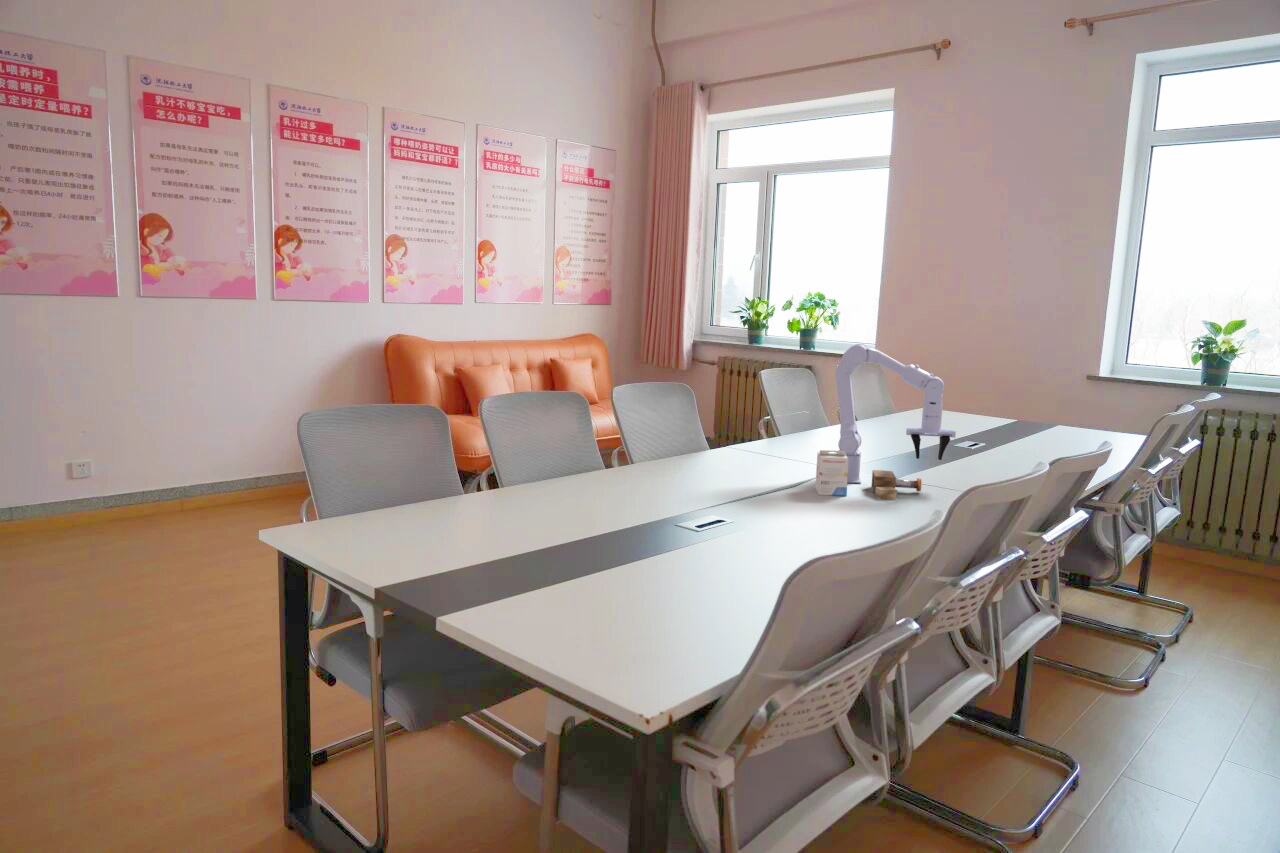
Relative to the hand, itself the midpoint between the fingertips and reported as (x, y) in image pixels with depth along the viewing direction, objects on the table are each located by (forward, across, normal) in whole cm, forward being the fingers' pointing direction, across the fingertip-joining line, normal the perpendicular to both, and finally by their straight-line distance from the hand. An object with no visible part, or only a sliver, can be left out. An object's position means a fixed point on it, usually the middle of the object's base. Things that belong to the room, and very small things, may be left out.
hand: (928, 458), depth 268 cm
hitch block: (+9, -14, -8) cm, 19 cm away
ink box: (+10, -30, -15) cm, 35 cm away
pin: (+9, -9, -8) cm, 15 cm away
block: (+10, -14, -17) cm, 24 cm away
